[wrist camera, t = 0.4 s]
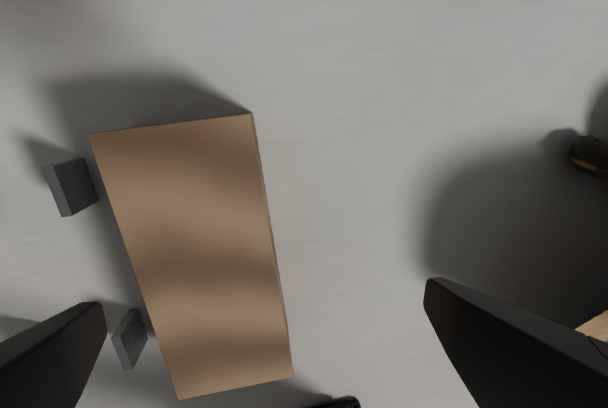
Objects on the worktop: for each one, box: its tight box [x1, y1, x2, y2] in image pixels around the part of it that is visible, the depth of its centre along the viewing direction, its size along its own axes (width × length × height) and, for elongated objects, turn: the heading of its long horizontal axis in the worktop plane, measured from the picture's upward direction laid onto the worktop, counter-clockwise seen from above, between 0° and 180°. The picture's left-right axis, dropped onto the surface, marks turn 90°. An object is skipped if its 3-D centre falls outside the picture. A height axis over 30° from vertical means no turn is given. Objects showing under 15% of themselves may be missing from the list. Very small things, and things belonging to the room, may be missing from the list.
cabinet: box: [42, 113, 293, 400], centre depth 20 cm, size 18×19×5 cm
